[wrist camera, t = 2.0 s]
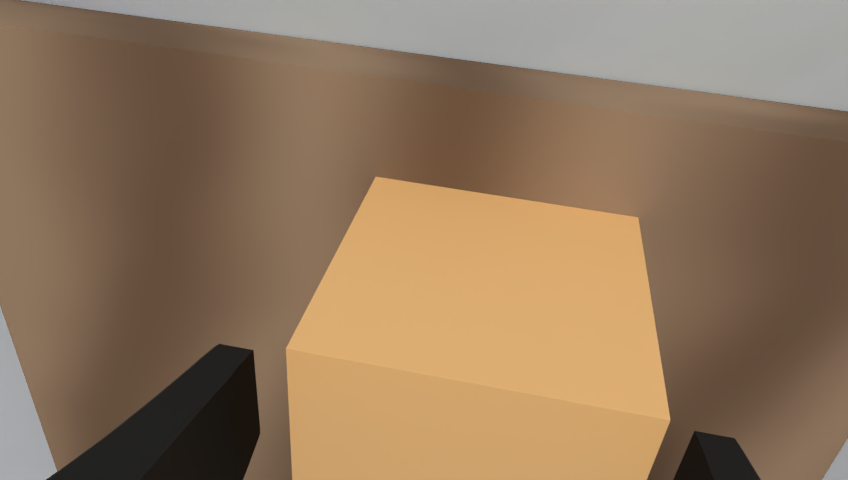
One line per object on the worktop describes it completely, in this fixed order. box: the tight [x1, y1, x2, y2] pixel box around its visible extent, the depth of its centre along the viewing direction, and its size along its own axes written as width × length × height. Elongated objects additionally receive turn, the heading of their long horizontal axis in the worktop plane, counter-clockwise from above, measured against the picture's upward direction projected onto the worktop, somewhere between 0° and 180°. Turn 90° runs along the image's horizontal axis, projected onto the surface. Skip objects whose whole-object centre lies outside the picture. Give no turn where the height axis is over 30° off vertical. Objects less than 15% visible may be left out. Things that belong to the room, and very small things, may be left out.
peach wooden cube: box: [286, 177, 671, 480], centre depth 12 cm, size 5×5×5 cm
